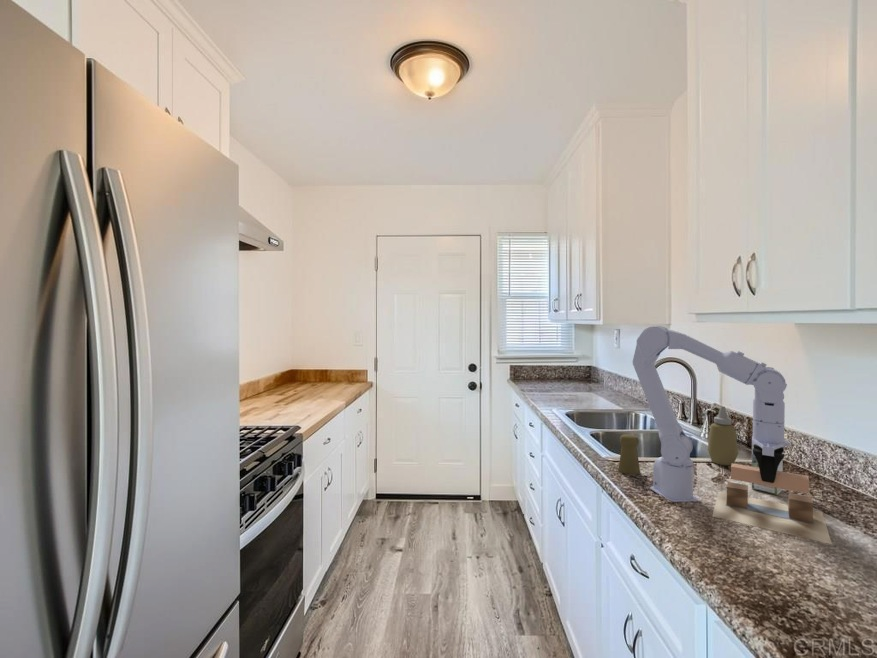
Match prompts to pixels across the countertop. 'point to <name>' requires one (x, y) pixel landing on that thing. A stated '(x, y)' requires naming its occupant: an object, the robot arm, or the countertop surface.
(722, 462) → the squeeze bottle
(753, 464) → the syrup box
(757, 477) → the beam
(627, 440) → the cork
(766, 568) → the countertop surface
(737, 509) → the board
